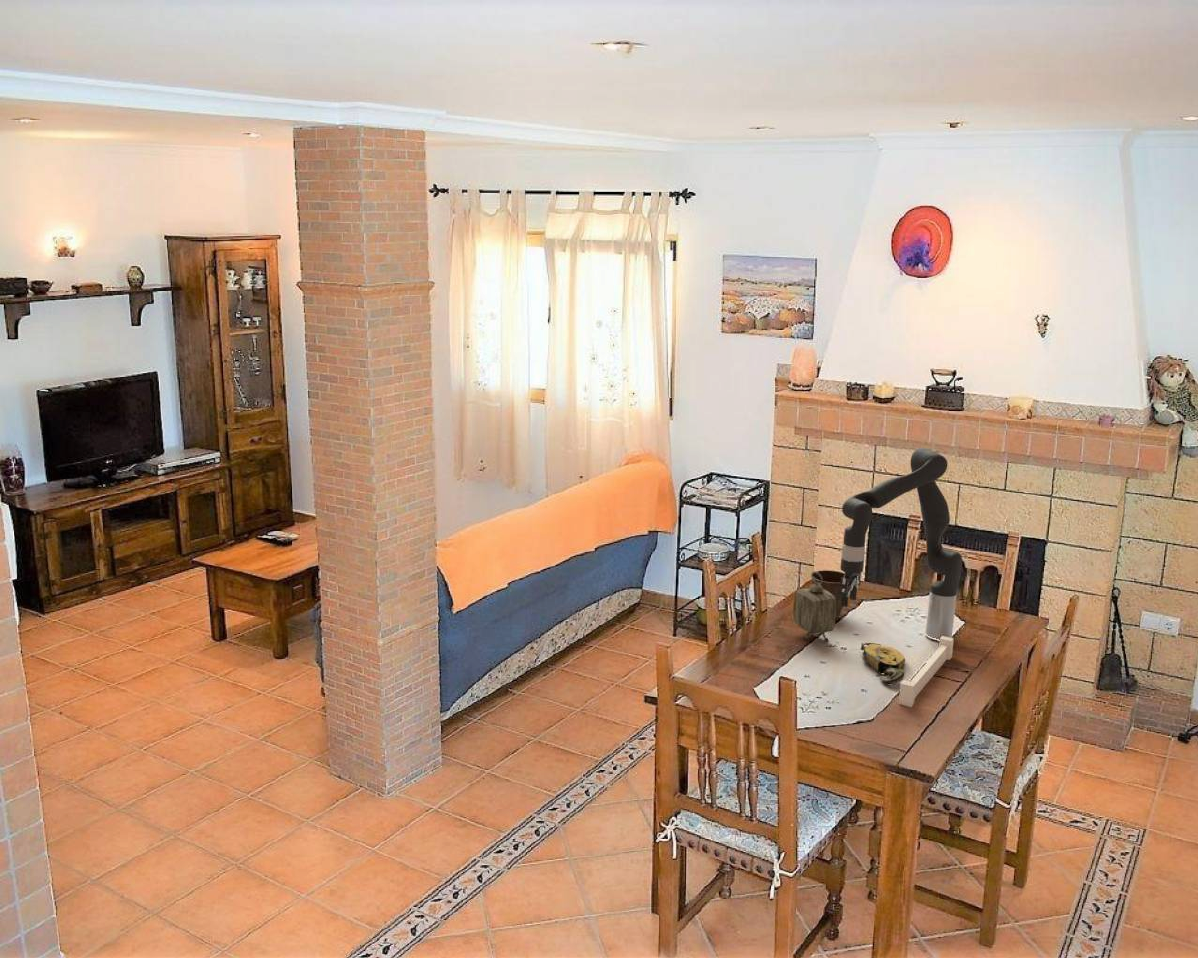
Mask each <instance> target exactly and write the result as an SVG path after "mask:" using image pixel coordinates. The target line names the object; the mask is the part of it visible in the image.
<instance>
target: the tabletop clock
mask: <svg viewBox="0 0 1198 958" xmlns="http://www.w3.org/2000/svg"><path fill="white" fill-rule="evenodd" d="M814 573H816V574H818V575H819V576H820V578H821V583H818V580H814V579H813V574H814ZM810 577H811V581H812V580H813V581H814V582H815V584H812V583H811V585H810V586H809V587H808V588H807V587H806V588H801V589H798V590H797V591H796V592H795V593H794V595H795V596H794V599H793V601H794V602H793V611H792V612H793V622H794V624H796V625H797V626H798V627H799V628H801V629H803V631H806V633H807V634H805V635H804V638H805V639H806V640H809V639H810V635H809V634H810V633H811V634H821V635H822V637H823V639H824V640H823V642H825V643H829V641H830V640H829V638H828V637H826V635H825V633H827V632H828V633H829V632H833V631H834V629H835V624H836V619H835V617H836V601H835V598H834V596H833V595H832V594H831V593H829V592H828V591H826V590H825V589H823V588H822V586H821V584H822V582H823V579H822V576H821V575H820V574H819V573H818V572H816V570H815V571H812V572H811V575H810Z"/></svg>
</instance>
